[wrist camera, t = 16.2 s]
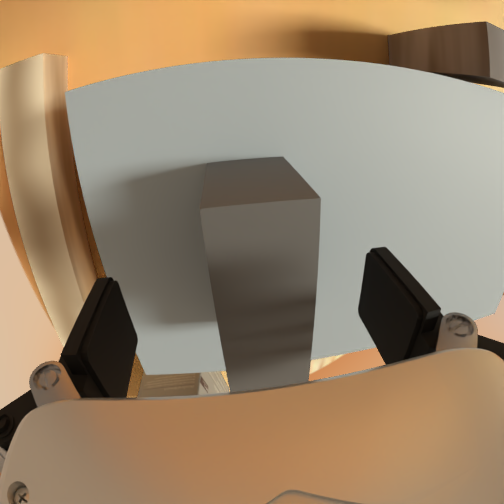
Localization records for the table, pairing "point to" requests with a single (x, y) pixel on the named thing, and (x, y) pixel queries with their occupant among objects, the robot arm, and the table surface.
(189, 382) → the skincare box
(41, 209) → the smooth beige tapered object
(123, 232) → the lid
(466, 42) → the brown wooden box
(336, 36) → the table surface
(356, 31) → the table surface
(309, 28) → the table surface
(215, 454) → the robot arm
